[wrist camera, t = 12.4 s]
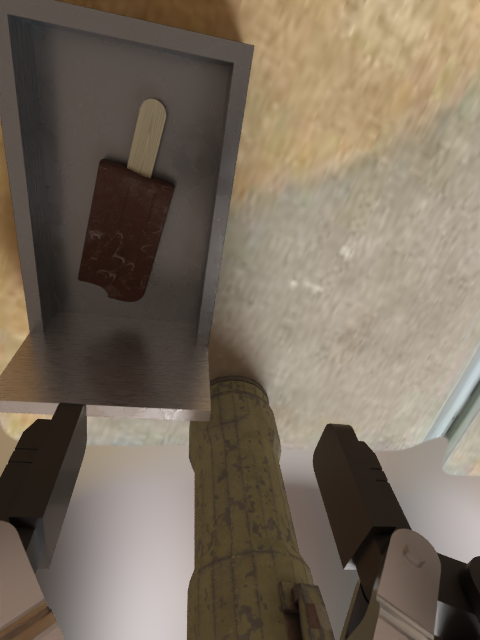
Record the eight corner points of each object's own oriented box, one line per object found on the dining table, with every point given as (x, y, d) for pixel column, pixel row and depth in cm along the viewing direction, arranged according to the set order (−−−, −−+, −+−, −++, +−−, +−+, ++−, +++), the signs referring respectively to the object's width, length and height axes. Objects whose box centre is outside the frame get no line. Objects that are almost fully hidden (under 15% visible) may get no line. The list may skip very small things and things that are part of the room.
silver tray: (18, 2, 22) (-128, -73, 12) (245, 52, 25) (279, 25, 15) (51, 333, 34) (-9, 433, 24) (202, 345, 37) (205, 441, 27)
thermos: (172, 430, 43) (119, 1207, 13) (217, 354, 38) (300, 1329, 8) (240, 449, 45) (324, 1121, 16) (290, 380, 41) (552, 1172, 11)
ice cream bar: (118, 82, 24) (80, 281, 31) (113, 81, 23) (74, 289, 30) (195, 115, 26) (143, 298, 32) (195, 116, 24) (140, 307, 31)
